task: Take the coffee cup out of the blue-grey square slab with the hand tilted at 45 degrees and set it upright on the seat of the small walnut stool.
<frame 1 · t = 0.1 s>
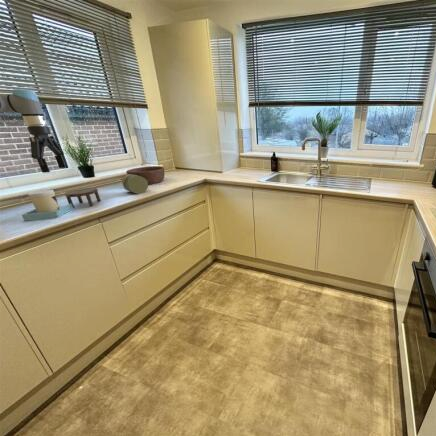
hand: (54, 170, 123), 21 cm above the countertop, tool pointing down, fingers open, 13 cm apart
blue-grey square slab: (50, 214, 122), on the countertop
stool: (86, 204, 136), on the countertop
coffee cup: (50, 214, 122), resting in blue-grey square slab
wooden bowl: (148, 182, 184), on the countertop
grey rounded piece: (136, 192, 158), on the countertop
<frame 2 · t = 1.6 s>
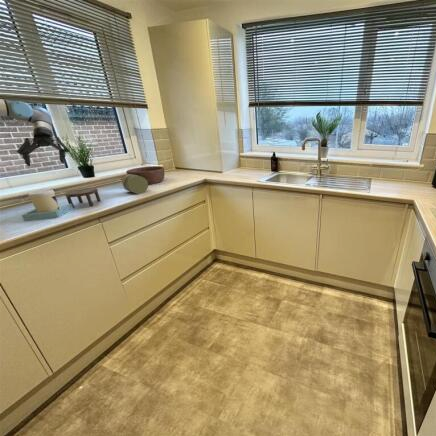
hand: (45, 163, 126), 24 cm above the countertop, tool tilted 45°, fingers open, 13 cm apart
nothing on the countertop moved.
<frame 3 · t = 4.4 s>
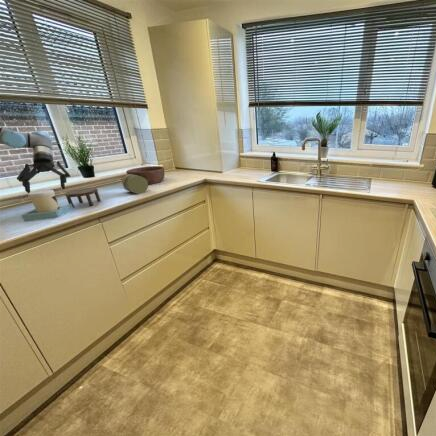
hand: (45, 189, 123), 11 cm above the countertop, tool tilted 45°, fingers open, 13 cm apart
nothing on the countertop moved.
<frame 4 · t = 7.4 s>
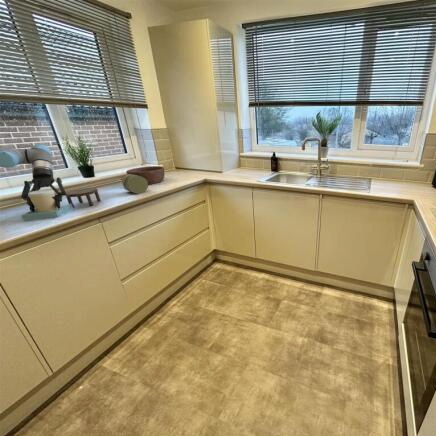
hand: (45, 208, 118), 4 cm above the countertop, tool tilted 45°, fingers closed on coffee cup, 9 cm apart
coffee cup: (50, 214, 122), resting in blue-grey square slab, touching gripper
everything else where it was.
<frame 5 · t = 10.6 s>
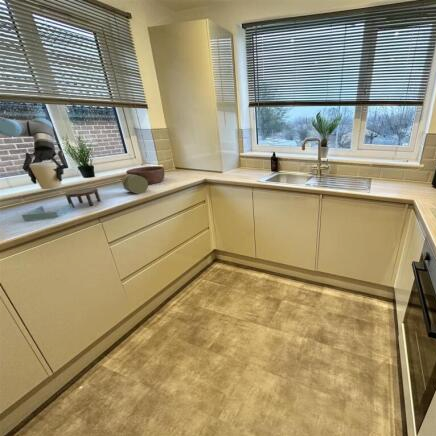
hand: (47, 180, 117), 17 cm above the countertop, tool tilted 45°, fingers closed on coffee cup, 9 cm apart
coffee cup: (52, 187, 121), point 13 cm above the countertop, touching gripper
everything else where it was.
when the fingers open (12 cm above the countertop, at t = 14.1 s): coffee cup stays where it is, resting on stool.
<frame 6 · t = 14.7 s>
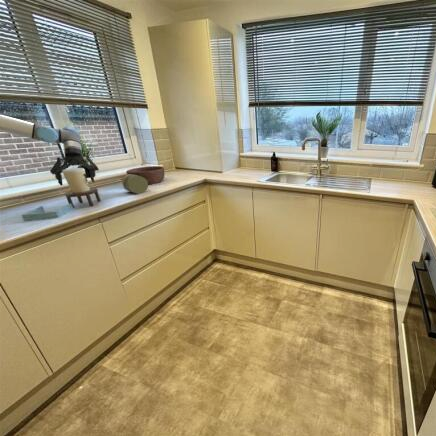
hand: (76, 182, 129), 13 cm above the countertop, tool tilted 45°, fingers open, 13 cm apart
coffee cup: (81, 191, 133), point 8 cm above the countertop, touching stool
everything else where it was.
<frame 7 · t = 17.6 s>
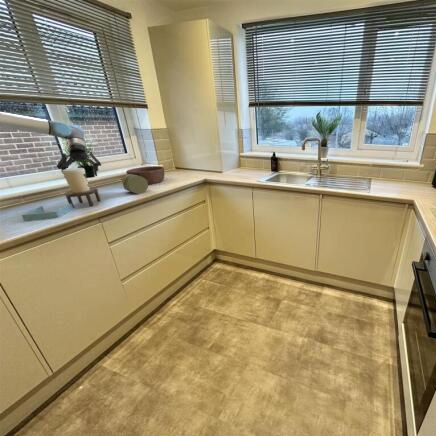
hand: (81, 176, 139), 14 cm above the countertop, tool tilted 45°, fingers open, 13 cm apart
nothing on the countertop moved.
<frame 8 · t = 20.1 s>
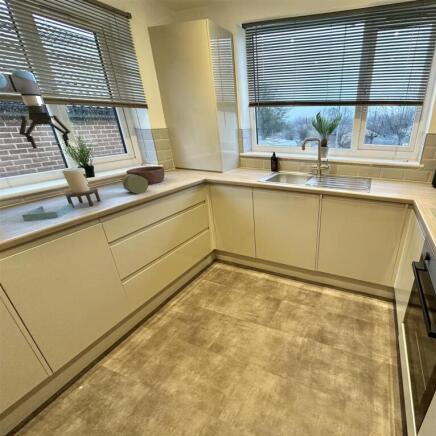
hand: (51, 147, 133), 31 cm above the countertop, tool pointing down, fingers open, 13 cm apart
nothing on the countertop moved.
at the end: coffee cup inside the target area on the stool (0.1 cm from its centre), point 7.8 cm above the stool's base; coffee cup tilted 0°; the gripper is holding nothing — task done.
